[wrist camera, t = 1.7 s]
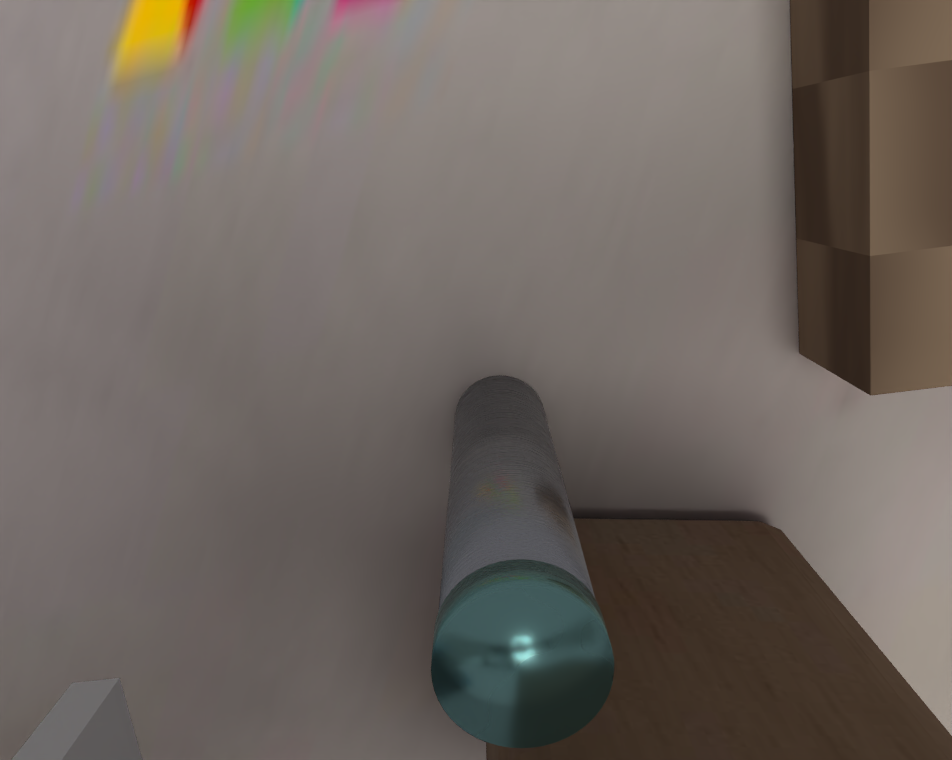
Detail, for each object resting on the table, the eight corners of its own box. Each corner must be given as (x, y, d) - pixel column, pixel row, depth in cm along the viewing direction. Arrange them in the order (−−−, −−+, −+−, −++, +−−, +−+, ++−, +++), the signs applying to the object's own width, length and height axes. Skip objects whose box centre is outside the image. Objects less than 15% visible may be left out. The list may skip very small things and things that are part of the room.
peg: (460, 467, 28) (444, 757, 14) (447, 380, 27) (418, 599, 13) (550, 456, 28) (621, 738, 14) (540, 368, 27) (606, 577, 13)
